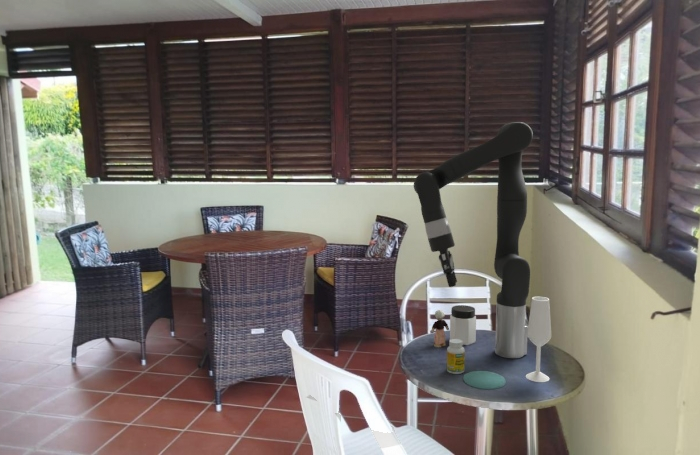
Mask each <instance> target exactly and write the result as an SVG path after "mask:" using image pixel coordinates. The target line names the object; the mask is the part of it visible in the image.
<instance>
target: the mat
mask: <svg viewBox="0 0 700 455" xmlns="http://www.w3.org/2000/svg"><path fill="white" fill-rule="evenodd" d="M462 380H463V382H465V384H467V385H468V386H470V387H473V388H476V389H482V390H496V389H500V388H503V387H504V386H505V385H506V383H507V382H506V378H505V377H504V376H503V375H501V374H498V373H496V372H492V371H487V370H475V371H474V370H473V371H469V372H467V373H465V374H464V375H463V378H462Z"/></svg>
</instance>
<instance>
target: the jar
mask: <svg viewBox="0 0 700 455" xmlns="http://www.w3.org/2000/svg"><path fill="white" fill-rule="evenodd" d="M450 312H451V314H450V316H449V340H451V339H460V340H462V341H463V345H462V346H469V345H472V344H475V343H476V338H477V337H476V336H477V335H476V334H477V316H476V308H475V307H473V306H472V305H466V304H465V305H464V304H461V305H460V304H459V305H454V306H452V307H451V311H450Z"/></svg>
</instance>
